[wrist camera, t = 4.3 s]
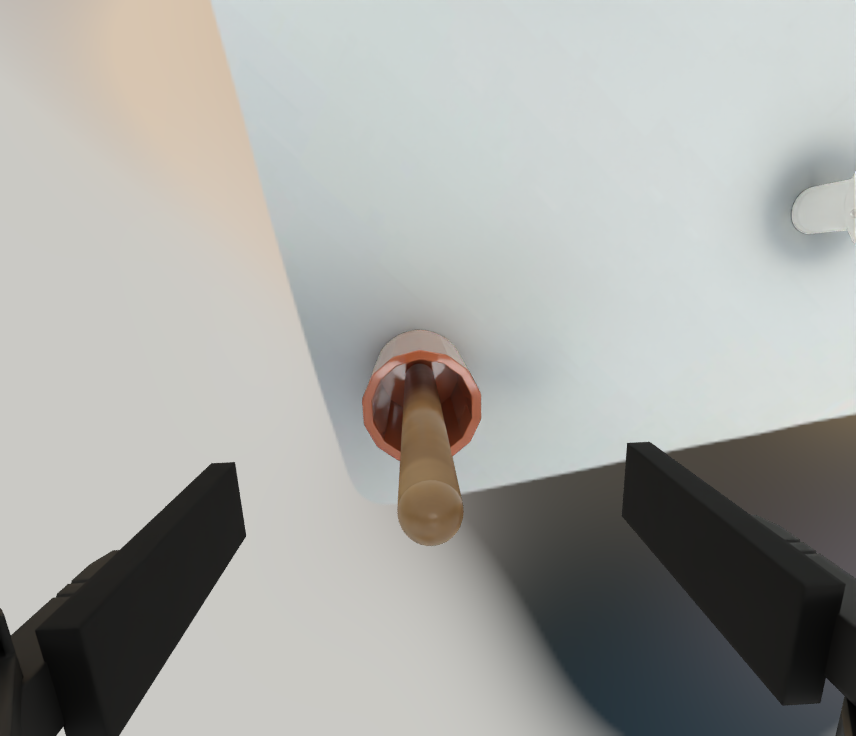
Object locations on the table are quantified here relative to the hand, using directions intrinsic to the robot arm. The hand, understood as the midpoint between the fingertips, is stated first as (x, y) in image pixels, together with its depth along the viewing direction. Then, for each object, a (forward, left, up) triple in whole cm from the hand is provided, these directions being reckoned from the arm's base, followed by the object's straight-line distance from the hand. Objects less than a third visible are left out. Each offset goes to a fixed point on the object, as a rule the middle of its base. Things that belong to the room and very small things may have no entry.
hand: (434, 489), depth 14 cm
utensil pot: (0, 0, -16) cm, 16 cm away
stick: (0, 0, -16) cm, 16 cm away
